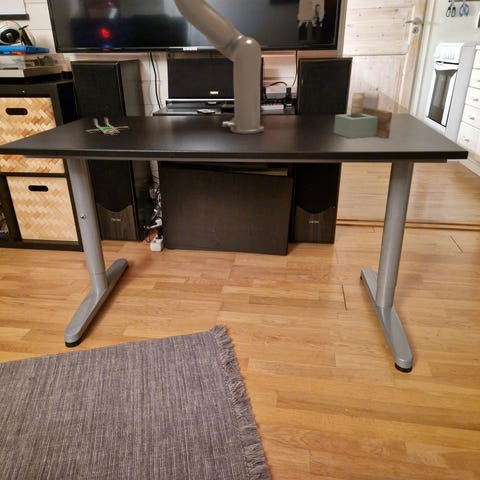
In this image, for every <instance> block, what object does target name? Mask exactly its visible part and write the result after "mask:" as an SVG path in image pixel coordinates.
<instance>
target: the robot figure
mask: <svg viewBox="0 0 480 480" xmlns="http://www.w3.org/2000/svg"><path fill="white" fill-rule="evenodd" d="M93 121H94V122H93V123H94V127H95V126H96V127H97V128H96V127H95V128H96V129H95V128H94V129H87V130H85V133H86V132H90V131H99V130H101V131H102V132H103V133H104V134H103V133H102V132H101V131H99V132H101V133H102V134H103V135H105V134H111V135H115V134H114V133H120V134H121V131H119V129H118V128H128V129H130V127H129V126H128V125H127V126H126V125H125V126H117V127H114V126H113V125H111V124H110V122H109V118H108V117H104V123H105V126H100V125H99V124H98V119H97V118H93ZM106 125H107V126H106ZM108 126H109V127H108ZM98 128H99V129H98ZM117 129H118V130H117ZM90 133H91V132H90Z"/></svg>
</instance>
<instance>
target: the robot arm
mask: <svg viewBox="0 0 480 480" xmlns="http://www.w3.org/2000/svg"><path fill="white" fill-rule="evenodd" d="M173 1H174V4H175V6H176V8H177V10H178V12H179V13H180V15H181V16H182V17H183V18H184V19H185V20H186V21H187V22H188V23H189V24H190V25H191V26H193V27H194V29H196V30H197V31H199V32H200V33H201V34H202V35H203V36H204V37H206V39H207V41H208V43H209V44H210V45H211V46H212V47H213V48H215V49H216V50H218V52H220V53H221V54H222V55H223V56H225V57H226V58H227V59H229V60H230V61H232V62H233V105H234V106H233V107H234V117H232V119H230V121H228V120H225V121H222V122H221V125H222V127H223V128H225V127H226V128H227V127H228V128H230V131H231V132H232V133H235V134H259V133H262V132H263V131H265V126H263V125H261V66H262V49H261V45H260V43H259V42H258V41H257V40H256V39H254V38H253V37H250V36H245V35H244V34H242V33H241V32H240V31H239V30H238V29H236V28H235V26H234V25H233V24H234V23H232V21H231V20H230V19H228V18H227V17H226V16H224V15H223V14H222V13H220V12H219V11H218V10H216V8H214V6H212V5H211V4H210V3H209V2H208V1H206V0H173ZM298 7H299V8H298V14H297V24H298V26H297V28H298V41H307V40H308V27H307V26H308V24H309V22H311V23H312V26H311V32H310V33H311V38H310V39H311V41H319V40H321V34H322V33H321V32H322V25H323V21H324V15H325V0H299V5H298Z"/></svg>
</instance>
